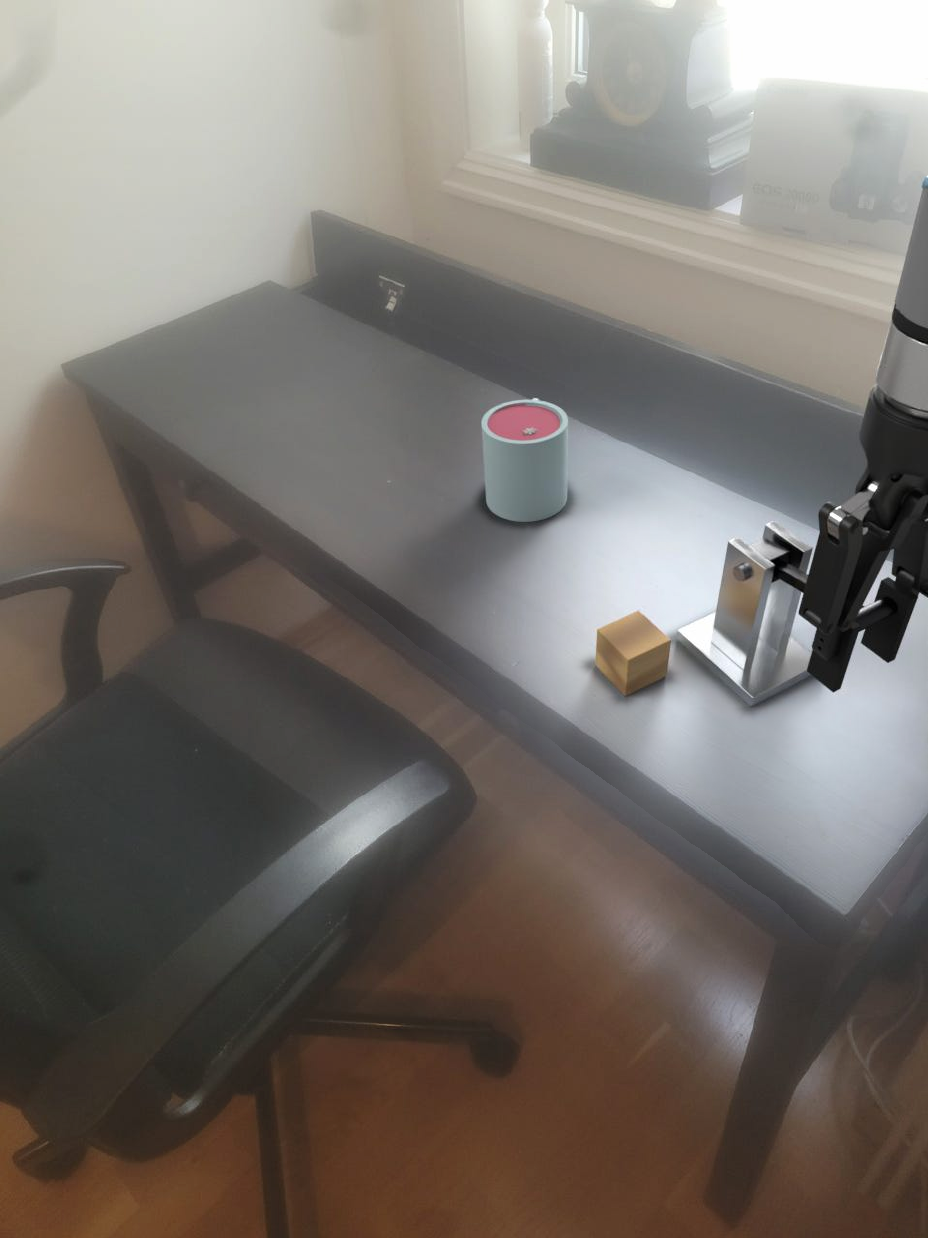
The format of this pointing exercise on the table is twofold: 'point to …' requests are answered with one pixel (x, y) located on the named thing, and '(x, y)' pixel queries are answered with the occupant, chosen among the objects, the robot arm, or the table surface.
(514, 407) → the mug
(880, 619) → the lever
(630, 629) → the block
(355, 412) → the table surface
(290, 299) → the table surface
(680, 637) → the bracket
